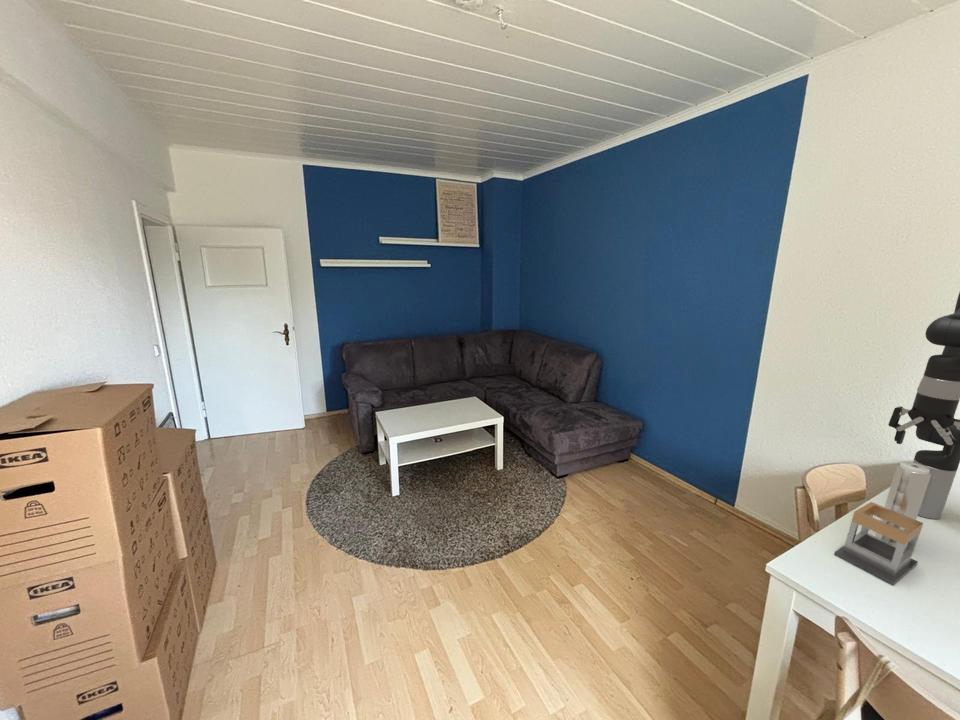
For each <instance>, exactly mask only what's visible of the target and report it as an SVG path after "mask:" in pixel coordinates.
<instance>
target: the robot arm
mask: <svg viewBox="0 0 960 720" xmlns="http://www.w3.org/2000/svg"><path fill="white" fill-rule="evenodd" d="M954 307H955V308H954V312H953V313H951V314H947V315H943V316H941V317H940V316H939V317H938V318H936V319H935V320H933V321H932V322H931V323H930V324H929V325H928V326H927V328H926V330H925V337H926V340H927V341H928V342H929V343H930V344H933V345H936V346H943V351H942V353H941V354H934V355H931V356H930V357H929V358H928V361H927V363H926V366H925V369H924V373H923V376H922V378H921V380H920V382H919V385H918V386H917V391H916V394H915V397H914V401H913V404H912V407H911V408H910V409H909V408H905V407H903V406H897V407H895V408H893V412H892V414H891V417H890V419H889V422H888V427H891V428H894V429H895V430H896V432H895V435H894V442H896V444H897V445H902V444H903V442H904V439H905V435H906V432H907V431H906V429H909V428H911V427H913V426H915V427H916V429H915V436H916V438H917V439H919V440H921V441H923V442H928V443H932V444H934V445H939V446H942V450H930V449H929V450H928V449H922V450H921V449H920V450H917V451H916V453H915V455H914V458H913V461H912V463H916V464H920V465H922V466H925V467H927V468H928V469H929V470H930V472H931V477H930V480H929V483H928V486H927V489H926V492H925V495H924V498H923V501H922V504H921V507H920V510H919V513H918V516H919V517H923V518H927V519H932V520H933V519H934V520H938V519H941V517H942V514H943V511H944V508H945V506H946V504H947V503H946V502H947V500H948V498H949V495H950V491H951V489H952V486H953V483H954V479H955V477H956V475H957V472H958V468H959V465H960V419H958V418H955V414H956V411H957V409H958V406H959V403H960V291H959V292H958V296H957V299H956V303H955V306H954ZM906 414H907V415H908V417H909V419H910V421H908V422H906V423H904V424H900V423H899V422H900V419H901V417H902V416H904V415H906Z"/></svg>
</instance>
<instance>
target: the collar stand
mask: <svg viewBox="0 0 960 720" xmlns="http://www.w3.org/2000/svg"><path fill="white" fill-rule="evenodd" d="M873 516H874V517H873ZM875 517H877V518H879V519H880V520H881V519H884V520H886V521H888V522H891V523H893V524H895V525H898V526H900V527H902V528H905V530H900V529H898V528H896V527H894V526H891V525H889V524H887V523H884V522H882V521H880V520H879V519H877V518H875ZM850 522H851V523H850V525H849V529H848V532H847V537H846V540H845V542H844V545H842V546H841V547H840V548H839V549H837V550H836V551H834V554H833V555H834V556H835V557H837V558H839V559H841V560H843V561H845V562H847V563H849V564H851V565H853V566H855V567H856V568H859V570H860V569H861V570H862V571H864V572H866V573H868V574H870V575H872V576H874V577H876V578H877V579H880V580H881V581H883V582H885V583H887V584H889V585H891V586H894V585H895V584H897V583H898V582H899V581H900V580H901V579H903V577H904V576H907V574H909V572H910V571H912V570H913V569H914V568H915V567H916V566H917V565H918V563H919V561H918V560H915V559H914V558H913V556H914V552H915V549H916V546H917V542H918V540H919V537H920V534H921V531H922V528H923V527H924V526H923V525H924V522H922V521H919V520H917V519H916V520H914V519H912V518H910V517H907V516H905V515H902V514H900V513H897V512H895V511H892V510H890V509H887V508H885V506H882V505H880V504H878V503H875V502H872V501H870V502H868V503H866V504H865V505H863V506H861V507H859V508H858V509H856V510H854V512H853V515H852V519H851V521H850ZM859 526H861V529H860V531H859V532H858V533H857V531H858V529H859ZM870 530H871V531H872V532H875V533H879V534H881V535H883V536H886V537H888V538H890V539H892V540H894V541H897V542H898V543H897V546H895V545H893V544H891V543H889V542H887V541H884V540H882V539H880V538H878V537H876V535H874V534H871V533H869V531H870ZM907 543H908V545H907V548H906V549H905V546H906V544H907Z"/></svg>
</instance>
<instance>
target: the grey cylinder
mask: <svg viewBox="0 0 960 720" xmlns="http://www.w3.org/2000/svg"><path fill="white" fill-rule="evenodd" d="M930 477H931V472H930V470H929V469H928V468H927V467H925V466H922V465H920V464H916V463H913V461H907V460H905V461H900V462H899V463H897V465H896V468H895V471H894V474H893V478H892V481H891V484H890V488H889V492H888V493H887V494H888V495H887V498H886V501H885V504H884V507H885V508H887V509H890V510H892V511H895V512H897V513H900V514H902V515H905V516H907V517H910V518H912V519H914V520H917V519H918V516H919V515H918V513H919V510H920V507H921V504H922V501H923V498H924V495H925V492H926V489H927V486H928V483H929V480H930ZM880 521H882V522H884V523H887V524H889V525H891V526H894V527H896V528H898V529H900V530H905V528H902V527H900V526H898V525H895V524H893V523H891V522H888V521H886V520H884V519H881V518H880ZM875 536H876V537H878V538H880V539H882V540H884V541H887V542H889V543H891V544H893V545H895V546H897V543H898V542H897V541H894V540H892V539H890V538H888V537H886V536H883V535H881V534H879V533H877V532H875ZM907 545H908V543H907V544H906V546H905V549H904V550H906V548H907Z"/></svg>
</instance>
